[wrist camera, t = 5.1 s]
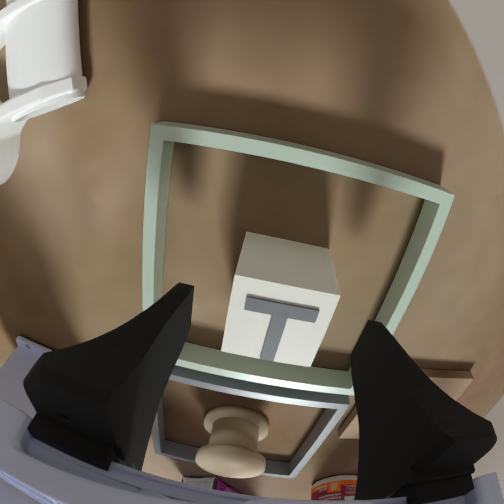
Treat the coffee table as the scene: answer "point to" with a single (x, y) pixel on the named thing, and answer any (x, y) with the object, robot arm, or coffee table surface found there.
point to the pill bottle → (335, 488)
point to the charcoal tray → (321, 430)
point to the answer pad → (444, 379)
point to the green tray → (433, 194)
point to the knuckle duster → (37, 67)
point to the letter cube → (280, 300)
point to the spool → (233, 442)
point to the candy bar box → (209, 483)
